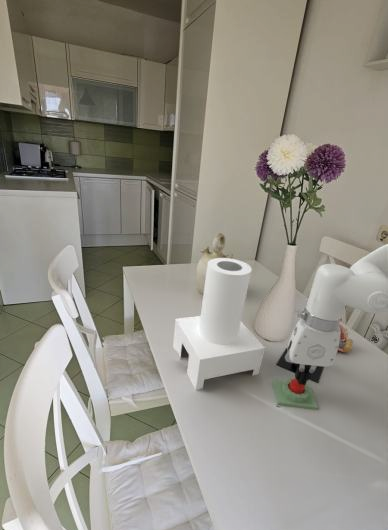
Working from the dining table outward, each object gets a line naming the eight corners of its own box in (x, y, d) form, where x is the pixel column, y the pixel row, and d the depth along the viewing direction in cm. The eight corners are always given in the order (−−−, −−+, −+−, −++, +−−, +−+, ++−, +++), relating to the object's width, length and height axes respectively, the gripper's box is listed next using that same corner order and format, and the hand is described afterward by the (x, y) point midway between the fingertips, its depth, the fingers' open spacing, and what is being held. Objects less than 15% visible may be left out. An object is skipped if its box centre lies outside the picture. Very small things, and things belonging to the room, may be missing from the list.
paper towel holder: (195, 390, 78) (210, 285, 64) (173, 346, 93) (181, 253, 79) (257, 376, 85) (283, 279, 71) (227, 337, 100) (243, 251, 86)
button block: (307, 388, 83) (311, 379, 81) (316, 412, 76) (320, 402, 74) (271, 384, 83) (274, 374, 81) (276, 407, 76) (279, 397, 74)
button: (301, 384, 79) (303, 379, 78) (304, 394, 76) (306, 389, 75) (287, 382, 79) (289, 377, 79) (290, 393, 76) (292, 387, 75)
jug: (187, 287, 130) (192, 230, 118) (212, 280, 140) (220, 226, 128) (212, 302, 120) (221, 242, 109) (237, 293, 130) (248, 236, 118)
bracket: (323, 366, 92) (336, 334, 86) (316, 385, 84) (330, 351, 79) (285, 350, 97) (294, 319, 92) (275, 367, 89) (285, 334, 84)
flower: (309, 338, 102) (326, 329, 95) (323, 325, 107) (340, 316, 100) (328, 362, 100) (347, 355, 94) (342, 347, 105) (360, 340, 98)
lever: (352, 345, 83) (353, 337, 82) (350, 354, 79) (351, 346, 78) (306, 338, 89) (306, 331, 88) (302, 346, 85) (302, 339, 84)
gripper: (291, 324, 65) (273, 388, 73) (361, 332, 64) (335, 395, 73) (284, 307, 71) (268, 367, 80) (348, 314, 71) (325, 374, 80)
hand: (300, 380), depth 76 cm, fingers closed
